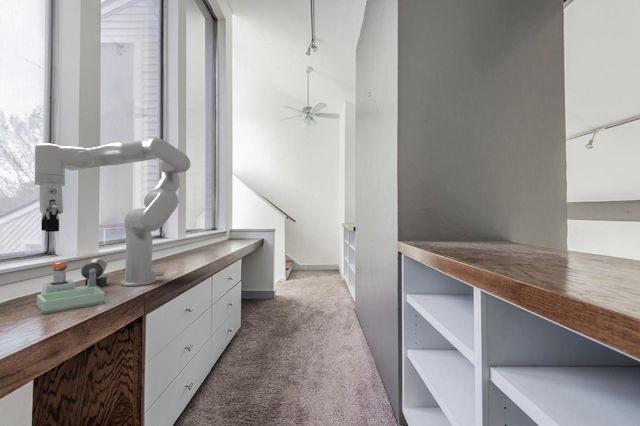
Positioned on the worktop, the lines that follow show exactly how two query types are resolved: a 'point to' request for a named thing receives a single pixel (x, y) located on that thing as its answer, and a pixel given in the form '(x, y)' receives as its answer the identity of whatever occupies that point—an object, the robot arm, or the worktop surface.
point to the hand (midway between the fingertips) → (50, 230)
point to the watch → (101, 280)
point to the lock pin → (59, 272)
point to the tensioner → (88, 271)
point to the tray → (69, 299)
